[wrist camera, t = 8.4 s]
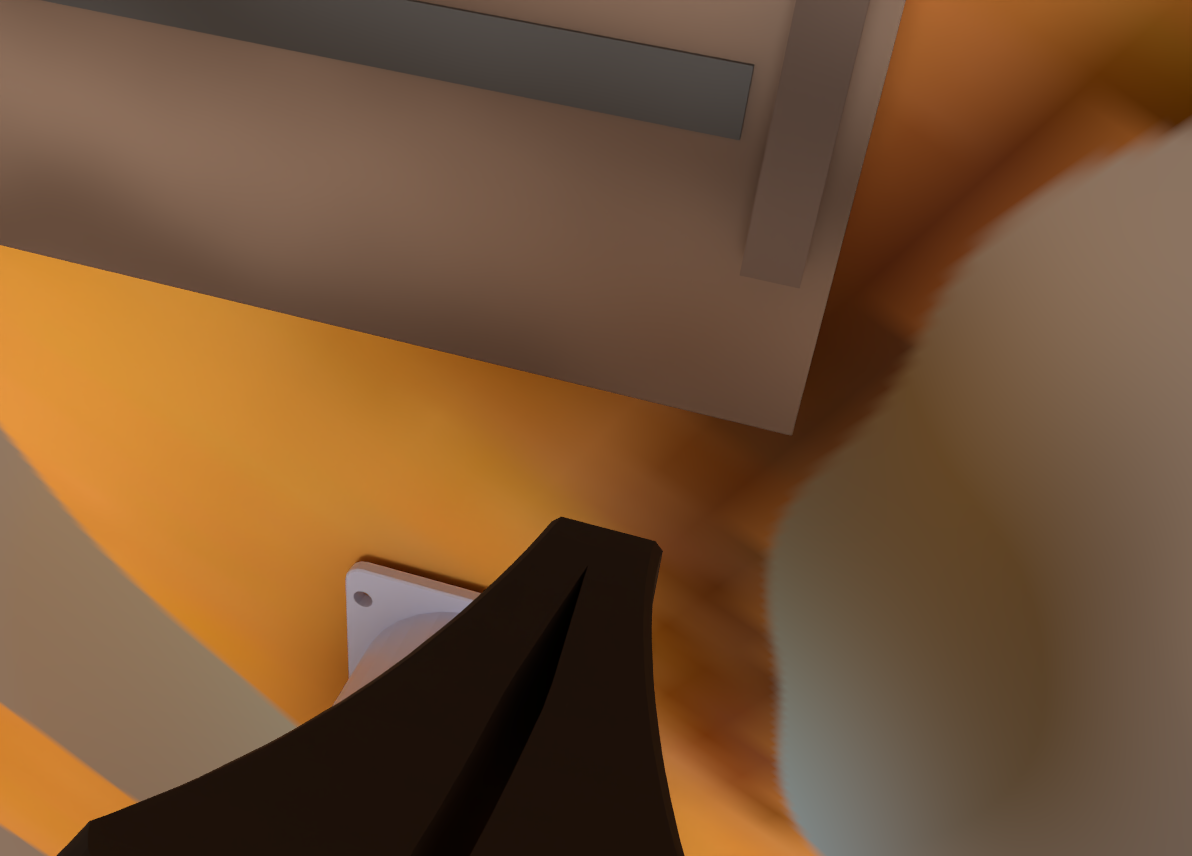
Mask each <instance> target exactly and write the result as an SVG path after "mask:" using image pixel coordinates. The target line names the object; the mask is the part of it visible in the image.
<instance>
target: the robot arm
mask: <svg viewBox="0 0 1192 856" xmlns="http://www.w3.org/2000/svg"><path fill="white" fill-rule="evenodd" d="M662 552H663V551H662V549H661V548H660V547H659V545H658V544H657V543H656V541H652V540H648V539H645V538H641V537H637V536H633V535H629V534H625V533H622V532H618V531H614V530H610V529H606V528H602V527H599V526H595V525H591V524H587V523H583V522H579V521H576V520H572V519H568V518H564V517H560V518H558V519H556V520H554V521H552V522H551V523H550V524H549V525H548V526H547V528H546V529H545V530H544V531H543V532H542V533H541V534H540V536H539V537H538V538H537V539H536V540H535V541H534V542H533V543H532V544H531V545H530V546H529V547H528V549H527V550H526V551H525V552H524V553H523V554H522V555H521V556H520V557H519V558H518V559H517V560H516V561H515V562H514V563H513V564H512V565H511V566H510V567H509V568H508V569H507V570H506V571H505V572H504V573H503V574H502V575H501V576H500V577H499V578H498V579H496V580H495V581H494V582H493V583H492V584H491V585H490V586H489V587H488V588H487V589H486V590H484V591H483V592H482V593H479V592H475V591H471V590H468V589H464V588H461V587H457V586H453V585H450V584H446V583H442V582H439V581H435V580H432V579H428V578H424V577H421V576H417V575H413V574H410V573H406V572H403V571H399V570H395V569H392V568H388V567H384V566H381V565H377V564H374V563H370V562H363V561H361V562H357V563H355V564H354V565H353V566H352V567H351V568H350V570H349V571H348V573H347V575H346V609H347V639H348V669H349V680H348V681H347V683H346V684H345V686H344V688H343V689H342V691H341V693H340V694H339V696H338V697H337V699H336V701H335V702H334V704H333V706H332V707H331V708H329V709H327V710H325V711H324V712H322V713H320V714H319V715H317V716H315V717H314V718H312V719H310V720H309V721H307V722H305V723H304V724H302V725H300V726H299V727H297V728H295V729H294V730H292V731H290V732H288V733H286V734H285V735H283V736H281V737H279V738H277V739H276V740H274V741H272V742H270V743H268V744H266V745H264V746H262V747H260V748H258V749H256V750H254V751H252V752H250V753H248V754H246V755H244V756H242V757H240V758H238V759H236V760H234V761H231V762H229V763H227V764H225V765H223V766H221V767H219V768H217V769H215V770H213V771H211V772H209V773H207V774H205V775H203V776H201V777H199V778H196V779H194V780H192V781H190V782H187V783H185V784H183V785H181V786H179V787H176V788H173V789H171V790H168V791H166V792H163V793H161V794H159V795H156V796H153V797H151V798H148V799H146V800H144V801H141V802H138V803H136V804H133V805H131V806H129V807H126V808H124V809H121V810H119V811H116V812H114V813H111V814H108V815H106V816H103V817H100V818H97V819H94V820H92V821H89V822H88V823H87V825H86V826H85V827H84V828H83V829H82V830H81V831H80V832H79V833H78V834H77V835H76V836H75V837H74V838H73V840H72V841H71V842H70V843H69V844H68V845H67V846H66V847H65V848H64V849H63V850H62V851H61V852H60V853H59V854H58V855H57V856H684V853H683V849H682V846H681V842H680V838H679V834H678V829H677V825H676V821H675V816H674V812H673V808H672V803H671V799H670V793H669V788H668V783H667V778H666V773H665V768H664V762H663V756H662V749H661V743H660V736H659V728H658V720H657V712H656V703H655V692H654V681H653V660H652V604H653V599H654V593H655V588H656V583H657V578H658V573H659V567H660V562H661V557H662ZM363 592H365V593H367V594H368V595H369V596H368V595H366V594H364V593H363Z"/></svg>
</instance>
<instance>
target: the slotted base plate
mask: <svg viewBox="0 0 1192 856" xmlns="http://www.w3.org/2000/svg"><path fill="white" fill-rule="evenodd" d="M905 1H906V0H0V245H3V246H7V247H11V248H15V249H19V250H23V251H28V252H32V253H36V254H40V255H44V256H48V257H52V258H57V259H61V260H65V261H69V262H73V263H77V264H82V265H86V266H90V267H94V268H98V269H102V270H106V271H111V272H115V273H119V274H123V275H127V276H131V277H135V278H140V279H144V280H148V281H152V282H156V283H160V284H164V285H169V286H173V287H177V288H181V289H185V290H189V291H193V292H198V293H202V294H206V295H210V296H214V297H218V298H223V299H227V300H231V301H235V302H239V303H243V304H247V305H252V306H256V307H260V308H264V309H268V310H272V311H276V312H281V313H285V314H289V315H293V316H297V317H301V318H305V319H310V320H314V321H318V322H322V323H326V324H330V325H335V326H339V327H343V328H347V329H351V330H355V331H359V332H364V333H368V334H372V335H376V336H380V337H384V338H388V339H393V340H397V341H401V342H405V343H409V344H413V345H417V346H422V347H426V348H430V349H434V350H438V351H442V352H447V353H451V354H455V355H459V356H463V357H467V358H471V359H476V360H480V361H484V362H488V363H492V364H496V365H500V366H505V367H509V368H513V369H517V370H521V371H525V372H529V373H534V374H538V375H542V376H546V377H550V378H554V379H559V380H563V381H567V382H571V383H575V384H579V385H583V386H588V387H592V388H596V389H600V390H604V391H608V392H612V393H617V394H621V395H625V396H629V397H633V398H637V399H641V400H646V401H650V402H654V403H658V404H662V405H666V406H670V407H675V408H679V409H683V410H687V411H691V412H695V413H700V414H704V415H708V416H712V417H716V418H720V419H724V420H729V421H733V422H737V423H741V424H745V425H749V426H753V427H758V428H762V429H766V430H770V431H774V432H778V433H782V434H787V435H791V436H792V433H793V429H794V425H795V421H796V418H797V414H798V410H799V406H800V402H801V398H802V395H803V391H804V387H805V383H806V379H807V375H808V372H809V368H810V364H811V360H812V356H813V353H814V349H815V345H816V341H817V337H818V333H819V330H820V326H821V322H822V318H823V314H824V311H825V307H826V303H827V299H828V295H829V291H830V288H831V284H832V280H833V276H834V272H835V268H836V265H837V261H838V257H839V253H840V249H841V246H842V242H843V238H844V234H845V230H846V226H847V223H848V219H849V215H850V211H851V207H852V204H853V200H854V196H855V192H856V188H857V184H858V181H859V177H860V173H861V169H862V165H863V161H864V158H865V154H866V150H867V146H868V142H869V139H870V135H871V131H872V127H873V123H874V119H875V116H876V112H877V108H878V104H879V100H880V96H881V93H882V89H883V85H884V81H885V77H886V74H887V70H888V66H889V62H890V58H891V54H892V51H893V47H894V43H895V39H896V35H897V32H898V28H899V24H900V20H901V16H902V12H903V9H904V5H905Z"/></svg>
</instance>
